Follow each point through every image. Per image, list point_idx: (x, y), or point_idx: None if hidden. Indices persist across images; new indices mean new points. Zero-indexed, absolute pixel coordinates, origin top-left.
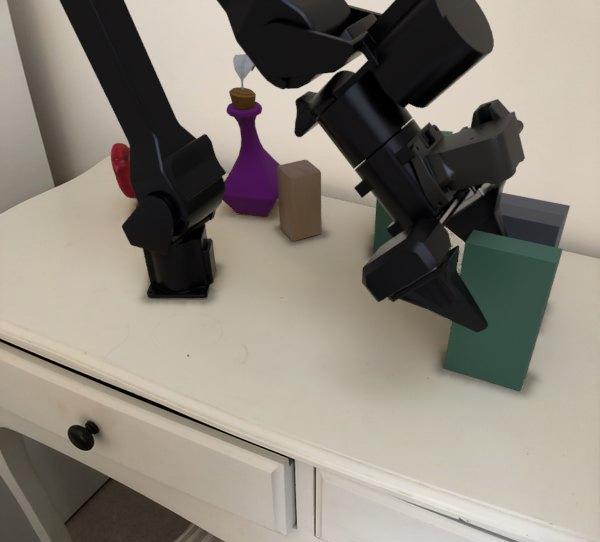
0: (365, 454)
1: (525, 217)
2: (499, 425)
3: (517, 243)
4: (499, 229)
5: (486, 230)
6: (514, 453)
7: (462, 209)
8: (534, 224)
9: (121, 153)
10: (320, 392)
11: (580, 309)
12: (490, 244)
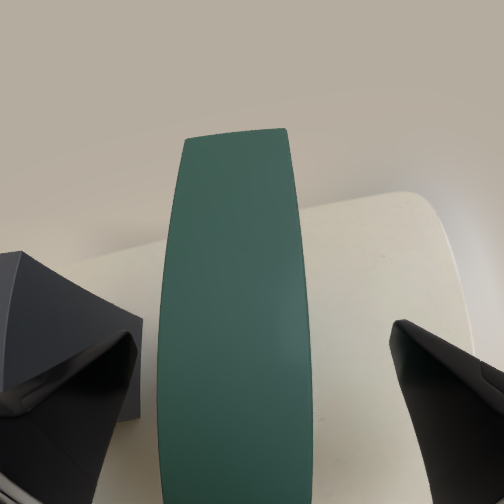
0: None
1: (1, 329)
2: (361, 298)
3: (205, 282)
4: (56, 391)
5: (65, 427)
6: (391, 268)
7: (36, 499)
8: (14, 307)
9: None
10: (405, 500)
11: (92, 272)
12: (280, 408)
